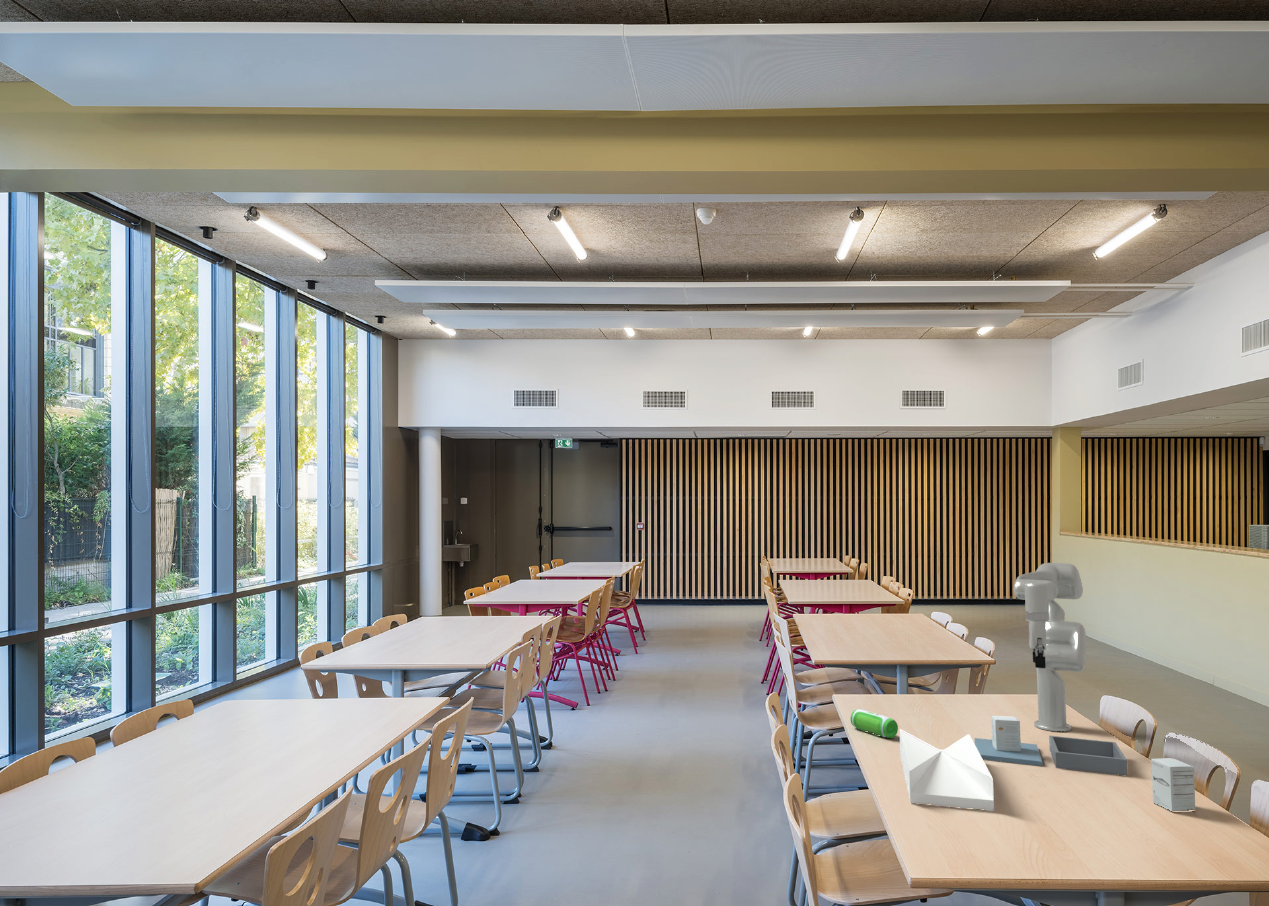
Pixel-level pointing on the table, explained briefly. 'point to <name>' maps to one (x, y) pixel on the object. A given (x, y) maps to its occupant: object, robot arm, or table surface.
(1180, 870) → the table surface
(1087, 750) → the rectangular frame
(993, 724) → the small box
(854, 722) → the speaker
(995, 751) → the board
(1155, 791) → the supplement box
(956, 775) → the building model
